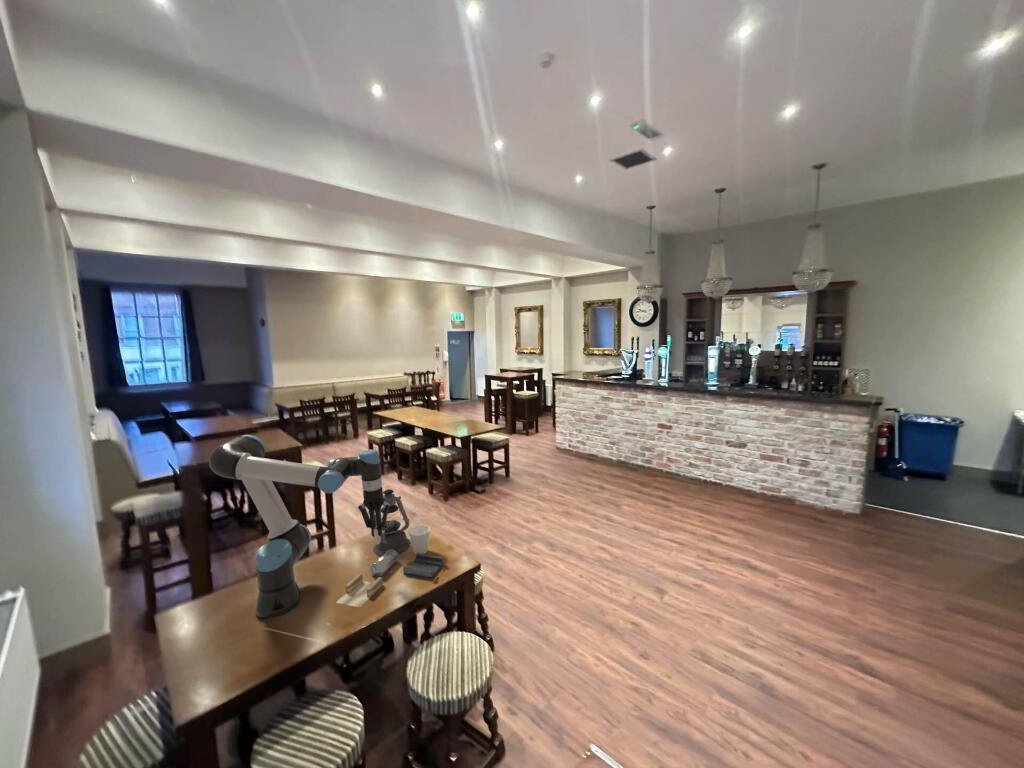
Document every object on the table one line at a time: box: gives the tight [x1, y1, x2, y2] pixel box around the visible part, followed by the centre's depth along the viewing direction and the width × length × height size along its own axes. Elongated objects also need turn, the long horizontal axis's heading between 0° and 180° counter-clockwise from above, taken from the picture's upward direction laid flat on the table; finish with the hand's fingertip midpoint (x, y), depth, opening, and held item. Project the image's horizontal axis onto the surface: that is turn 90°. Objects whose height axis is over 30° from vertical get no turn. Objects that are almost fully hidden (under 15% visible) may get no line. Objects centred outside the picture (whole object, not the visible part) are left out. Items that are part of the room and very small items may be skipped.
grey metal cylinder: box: [369, 549, 399, 578], centre depth 173 cm, size 6×12×6 cm, turn 163°
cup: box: [407, 524, 431, 556], centre depth 186 cm, size 10×10×11 cm
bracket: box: [335, 573, 383, 609], centre depth 157 cm, size 11×14×4 cm
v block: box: [402, 553, 445, 580], centre depth 172 cm, size 13×12×4 cm
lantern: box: [370, 485, 412, 557], centre depth 191 cm, size 18×20×30 cm
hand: (378, 542), depth 167 cm, fingers closed
